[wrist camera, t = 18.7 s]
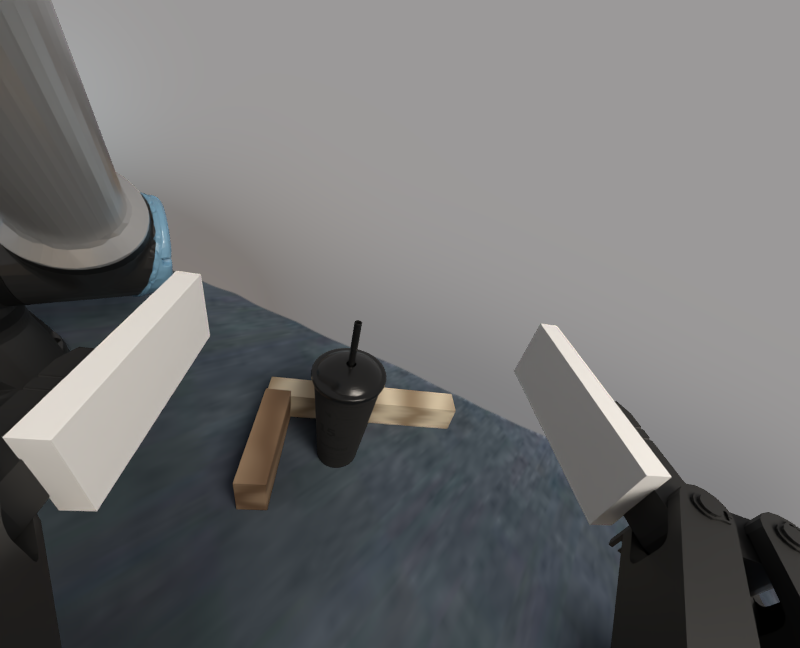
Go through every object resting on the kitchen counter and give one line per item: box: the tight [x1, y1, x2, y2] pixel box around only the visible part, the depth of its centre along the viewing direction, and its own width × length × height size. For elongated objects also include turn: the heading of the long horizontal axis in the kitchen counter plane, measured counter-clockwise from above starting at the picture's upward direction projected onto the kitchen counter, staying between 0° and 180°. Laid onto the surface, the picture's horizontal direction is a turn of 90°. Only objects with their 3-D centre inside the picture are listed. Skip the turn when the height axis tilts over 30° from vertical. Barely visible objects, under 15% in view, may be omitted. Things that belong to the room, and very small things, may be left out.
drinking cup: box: [311, 320, 386, 468], centre depth 36 cm, size 8×8×20 cm
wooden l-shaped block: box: [233, 377, 455, 510], centre depth 41 cm, size 25×15×5 cm, turn 94°
